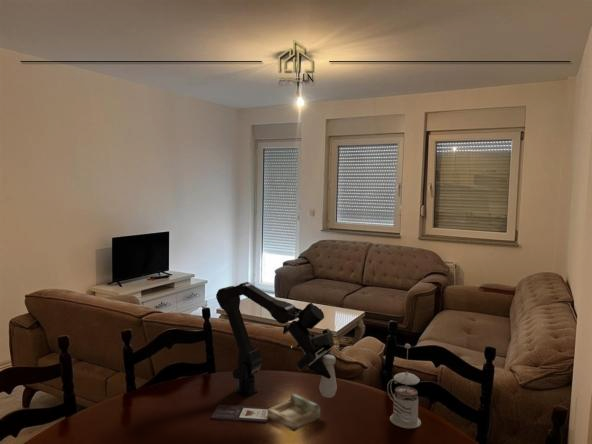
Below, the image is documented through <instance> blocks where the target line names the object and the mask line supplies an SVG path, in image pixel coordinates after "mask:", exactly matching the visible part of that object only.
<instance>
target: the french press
mask: <svg viewBox="0 0 592 444" xmlns="http://www.w3.org/2000/svg"><path fill="white" fill-rule="evenodd" d="M404 348H405V349H407V350H406V365H408V360H409V357H408V356H409V349H411V348H412V347H411V344H409V343H405V344H404ZM393 381H394V384H402V385H400V386H396V387H395V388H394V393H393V391H392V386H390V392H391V395H392V396H391V395H390V392H389V385H390V384H392V383H393ZM419 383H420V378H419V377H418V376H417V375H415V374H413V373H410V372H406V371H405V372H399V373H396V374H395V375H394V376H393V379H390V380H389V381H388V383H387V385H386V386H387V388H386V390H387V394H388V396H389V398H390V400H392V402H393V407H392V409H393V410H392V411H393V412H392V414H391V416H389V420H390V422H391V423H392V424H394V425H395V426H397V427H400V428H404V429H416V428H418V427H420V426H421V425H422V421H421V419H420V418H419V395H418V390H417V389H416V388H414V387H411V386H414V385H417V384H419ZM392 397H393V398H392Z"/></svg>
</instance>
